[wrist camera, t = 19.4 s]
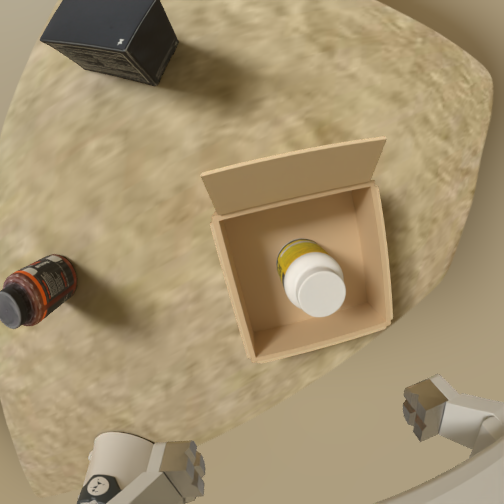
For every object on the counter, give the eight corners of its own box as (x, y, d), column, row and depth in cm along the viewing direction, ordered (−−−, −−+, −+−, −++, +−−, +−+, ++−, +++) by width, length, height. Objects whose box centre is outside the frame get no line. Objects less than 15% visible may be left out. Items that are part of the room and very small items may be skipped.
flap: (386, 139, 20) (384, 136, 20) (201, 176, 21) (200, 173, 21) (369, 181, 26) (368, 178, 26) (218, 215, 26) (217, 212, 26)
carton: (372, 304, 36) (393, 325, 30) (248, 337, 36) (250, 365, 30) (354, 178, 32) (377, 179, 26) (213, 210, 32) (208, 217, 26)
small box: (182, 39, 28) (162, -8, 17) (157, 88, 29) (125, 54, 19) (106, 25, 26) (69, -14, 16) (83, 70, 28) (36, 42, 17)
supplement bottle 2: (265, 255, 33) (276, 287, 24) (308, 227, 33) (335, 247, 23) (292, 294, 34) (310, 336, 25) (332, 267, 34) (365, 300, 24)
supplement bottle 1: (54, 242, 32) (-4, 268, 21) (86, 275, 33) (36, 312, 22) (35, 276, 33) (-18, 308, 22) (66, 307, 34) (19, 348, 23)
